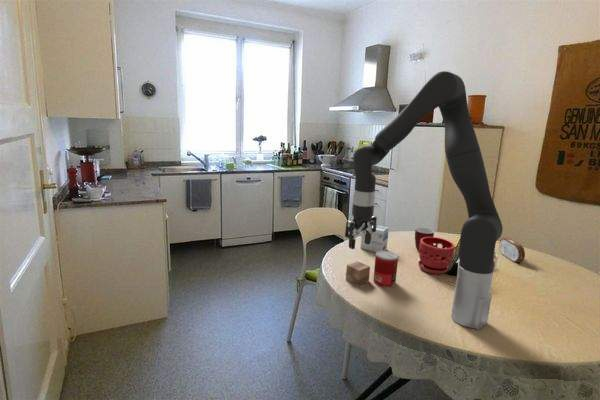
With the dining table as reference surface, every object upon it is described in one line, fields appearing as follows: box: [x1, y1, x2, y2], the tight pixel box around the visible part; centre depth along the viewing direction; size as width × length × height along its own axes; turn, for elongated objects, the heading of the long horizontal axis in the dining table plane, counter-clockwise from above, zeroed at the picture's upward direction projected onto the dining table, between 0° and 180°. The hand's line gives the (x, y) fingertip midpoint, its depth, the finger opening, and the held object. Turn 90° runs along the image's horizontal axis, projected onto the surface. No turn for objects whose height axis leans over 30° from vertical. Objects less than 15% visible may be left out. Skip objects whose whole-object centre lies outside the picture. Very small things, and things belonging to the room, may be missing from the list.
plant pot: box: [417, 236, 456, 275], centre depth 143 cm, size 13×13×12 cm
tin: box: [498, 237, 526, 263], centre depth 158 cm, size 15×3×8 cm, turn 2°
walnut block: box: [345, 260, 371, 286], centre depth 132 cm, size 6×6×6 cm
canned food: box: [373, 250, 399, 288], centre depth 130 cm, size 8×8×11 cm
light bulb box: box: [360, 225, 389, 253], centre depth 163 cm, size 11×7×11 cm, turn 58°
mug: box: [414, 227, 435, 252], centre depth 164 cm, size 10×8×10 cm
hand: (359, 246), depth 129 cm, fingers open, 8 cm apart
